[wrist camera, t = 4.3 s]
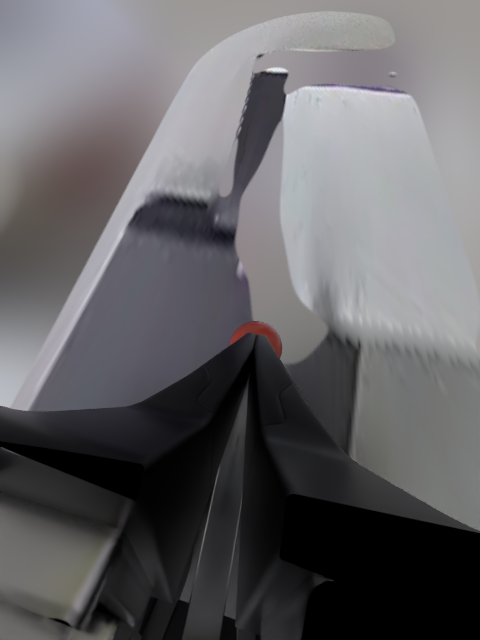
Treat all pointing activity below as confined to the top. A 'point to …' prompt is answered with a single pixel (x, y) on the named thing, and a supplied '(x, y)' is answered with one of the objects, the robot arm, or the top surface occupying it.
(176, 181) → the top surface
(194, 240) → the top surface
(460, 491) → the top surface
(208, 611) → the lever
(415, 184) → the top surface
